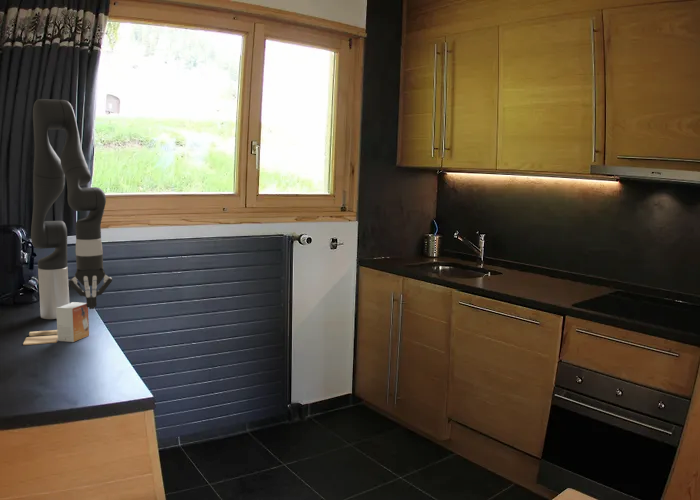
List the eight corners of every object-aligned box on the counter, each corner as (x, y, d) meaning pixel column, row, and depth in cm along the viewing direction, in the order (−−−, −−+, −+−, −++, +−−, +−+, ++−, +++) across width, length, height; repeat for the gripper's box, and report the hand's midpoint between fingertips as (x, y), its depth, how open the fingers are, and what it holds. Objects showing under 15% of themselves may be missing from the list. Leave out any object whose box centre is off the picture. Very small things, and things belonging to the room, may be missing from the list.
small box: (73, 342, 187) (72, 308, 186) (57, 341, 189) (55, 307, 187) (90, 335, 195) (88, 302, 194) (74, 334, 196) (72, 301, 195)
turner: (28, 337, 192) (28, 334, 191) (30, 333, 196) (30, 330, 196) (78, 333, 197) (78, 330, 197) (78, 329, 201) (78, 326, 201)
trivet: (26, 338, 191) (26, 337, 191) (58, 336, 194) (58, 334, 194) (23, 345, 184) (23, 343, 184) (56, 342, 187) (56, 341, 187)
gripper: (112, 250, 196) (114, 304, 199) (66, 252, 191) (69, 307, 194) (112, 254, 189) (114, 309, 192) (64, 255, 184) (67, 313, 187)
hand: (91, 308), depth 193 cm, fingers closed
